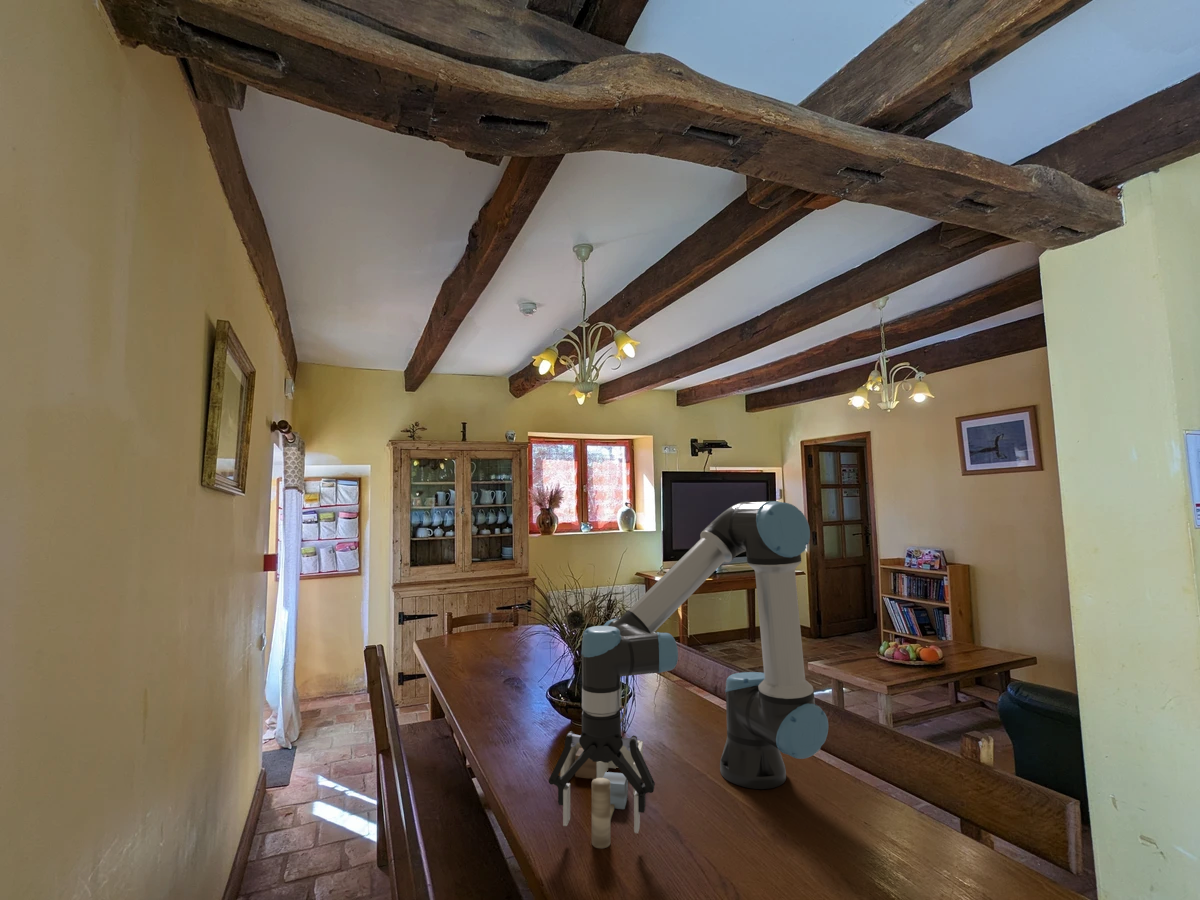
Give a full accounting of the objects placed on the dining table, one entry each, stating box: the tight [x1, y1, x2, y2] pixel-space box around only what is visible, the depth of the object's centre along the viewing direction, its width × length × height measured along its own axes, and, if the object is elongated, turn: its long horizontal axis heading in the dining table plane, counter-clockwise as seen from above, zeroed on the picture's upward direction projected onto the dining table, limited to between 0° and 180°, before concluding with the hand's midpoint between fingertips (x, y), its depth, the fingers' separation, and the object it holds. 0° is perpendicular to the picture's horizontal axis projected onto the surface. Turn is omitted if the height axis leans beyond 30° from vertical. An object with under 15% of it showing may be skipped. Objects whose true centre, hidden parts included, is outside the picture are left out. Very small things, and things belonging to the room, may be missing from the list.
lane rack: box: [560, 740, 644, 796], centre depth 136 cm, size 13×17×6 cm
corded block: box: [591, 771, 629, 849], centre depth 119 cm, size 20×5×11 cm, turn 169°
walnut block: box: [574, 747, 597, 780], centre depth 139 cm, size 5×5×5 cm
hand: (601, 825), depth 110 cm, fingers open, 13 cm apart
